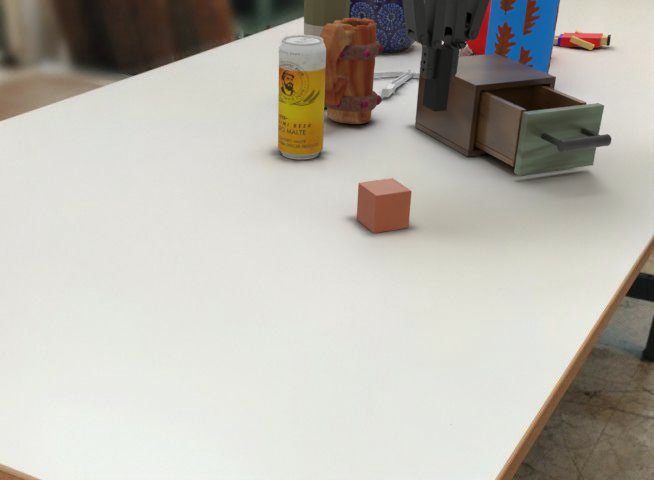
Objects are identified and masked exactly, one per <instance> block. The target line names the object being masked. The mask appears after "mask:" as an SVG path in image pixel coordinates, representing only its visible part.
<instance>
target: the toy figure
mask: <svg viewBox="0 0 654 480" xmlns="http://www.w3.org/2000/svg"><path fill="white" fill-rule="evenodd" d="M611 37H612V34H608V35H604V33H600V32H597V33H596V32H594V33H593V32H583V31H580V30H577V29H576V30H575V32H564V33H560V34H559V35H557V34H555V36H554V42H553V45H554V44H556V46H560V47H565V48H584V49H587V50H589V51H593V49H594V48H600V47H601V46H607V47H609V46H610V45H611V40H612V39H611Z"/></svg>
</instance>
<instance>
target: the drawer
mask: <svg viewBox="0 0 654 480" xmlns="http://www.w3.org/2000/svg"><path fill="white" fill-rule="evenodd" d="M604 109H605V105H604V104H602V103H599V102H596V103H587V101H584V100H582V99H580V98H576V97H574V96H571V95H569V94H567V93H564V92H562V91H560V90H557V89H555V88H554V89H552V88H550V87H547V86H545V85H542V84H539V85H530V86H521V87H511V88H502V89H493V90H483V91H480V97H479V105H478V114H477V122H476V130H475V139H474V146H476V147H478V148H480V149H481V150H483V151H485V152H487V153H489V154H488V155H491V156H492V157H494V158H496V159H498V160H500V161H501V162H503V163H505V164H507V165H509V166H511V167H513V168H514V170H513V173H514V174H515V175H517V176H519V177H521V176H528V175H534V174H541V173H542V174H543V173H549V172H556V171H562V170H569V169H577V168H583V167H590V166H594V161H595V157H596V150H597V148H602V147H608V146H610V145H611V144H612V136H611V135H610V134H608V133H604V134H600V131H601V130H600V129H601V125H602V119H603V115H604Z"/></svg>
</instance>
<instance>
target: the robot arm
mask: <svg viewBox="0 0 654 480" xmlns="http://www.w3.org/2000/svg"><path fill="white" fill-rule="evenodd" d="M489 1H490V0H425V3H424V0H403V8H404V17H405V25H406V34H407V37H408V38H409V39H411V40H413V41H415V42H416V43H418V44H420V45H421V56H420V61H421V67H420V66H419V74H421V76H422V77H424V78H425V86H424V96H423V105H424V106H425V107H427V108H429V109H431V110H433V111H434V112H435V111H446V110H447V102H448V93H449V85H450V77H455V75H456V73H457V66H458V59H459V57H460V52H461V51H460V50H463V49H465V48H466V47H467V46H468V45H467V43H466V42H467V41H469V40H475V39H476V38H477V37H478V35H479V32H480V29H481V26H482V22H483V19H484V16H485V13H486V10H487V7H488V4H489Z"/></svg>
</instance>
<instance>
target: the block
mask: <svg viewBox="0 0 654 480" xmlns="http://www.w3.org/2000/svg"><path fill="white" fill-rule="evenodd" d="M411 200H412V190H411V189H410V188H408V187H407V186H405V185H404V184H402V182H400V181H398V180H397V179H395V178H393V177H391V178H384V179H383V178H382V179H377V180H370V181H368V180H367V181H363V182H362V181H361V182H358V188H357V204H356V220H357V221H358V222H359V223H361V224H362V225H363V226H364V227H366V228H367V229H368V230H369V231H370V232H372V233H373V234H378V233H384V232H389V231H390V232H391V231H396V230H403V229H408V228H409V227H410V226H409V224H410V214H411V202H412V201H411Z"/></svg>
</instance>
